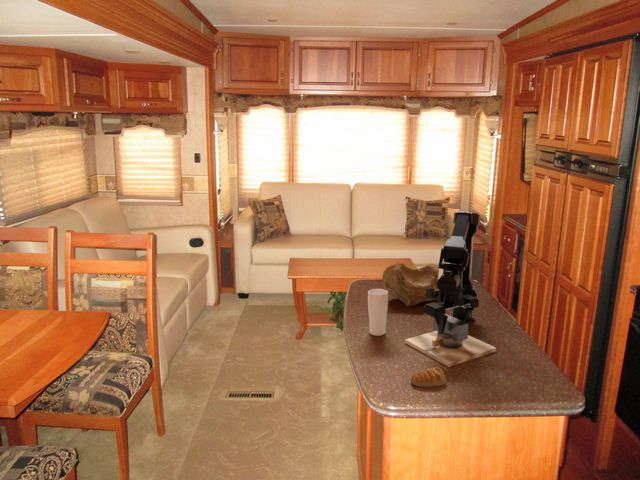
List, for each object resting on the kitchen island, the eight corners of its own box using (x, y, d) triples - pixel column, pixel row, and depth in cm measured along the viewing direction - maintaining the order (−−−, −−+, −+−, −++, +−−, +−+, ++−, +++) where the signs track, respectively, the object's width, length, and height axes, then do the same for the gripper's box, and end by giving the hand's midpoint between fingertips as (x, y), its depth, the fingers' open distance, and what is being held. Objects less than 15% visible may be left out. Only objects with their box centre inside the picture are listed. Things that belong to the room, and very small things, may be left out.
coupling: (446, 334, 175) (447, 311, 173) (471, 346, 166) (473, 322, 164) (421, 341, 170) (422, 318, 168) (445, 354, 161) (446, 329, 159)
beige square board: (450, 330, 182) (450, 326, 182) (495, 351, 166) (496, 347, 165) (405, 342, 172) (405, 338, 172) (448, 367, 156) (449, 362, 155)
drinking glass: (389, 330, 182) (390, 289, 179) (385, 338, 176) (385, 295, 173) (370, 328, 184) (370, 287, 181) (365, 336, 178) (365, 293, 175)
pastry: (418, 391, 143) (418, 378, 142) (405, 380, 149) (405, 367, 148) (447, 385, 146) (448, 372, 145) (434, 374, 152) (434, 362, 151)
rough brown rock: (388, 312, 202) (391, 275, 197) (378, 294, 217) (381, 260, 213) (447, 310, 205) (451, 275, 200) (433, 293, 220) (437, 259, 216)
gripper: (455, 273, 176) (453, 317, 179) (412, 282, 166) (410, 328, 170) (481, 281, 166) (478, 328, 170) (437, 292, 157) (435, 340, 161)
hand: (450, 331), depth 168 cm, fingers open, 7 cm apart
